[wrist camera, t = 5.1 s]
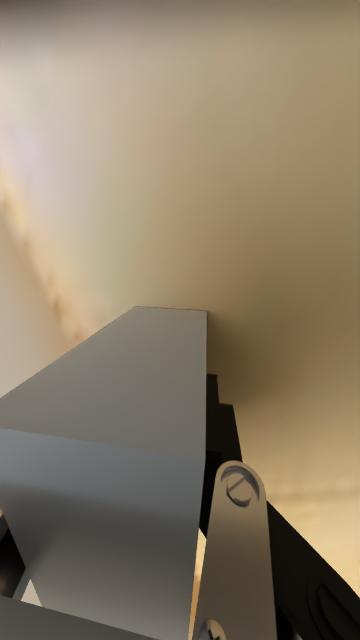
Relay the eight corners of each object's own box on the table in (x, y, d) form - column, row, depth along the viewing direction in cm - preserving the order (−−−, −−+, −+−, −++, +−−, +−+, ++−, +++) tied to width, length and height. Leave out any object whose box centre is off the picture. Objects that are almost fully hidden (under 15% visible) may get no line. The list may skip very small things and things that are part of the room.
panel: (206, 310, 10) (205, 459, 3) (198, 426, 13) (185, 669, 5) (135, 306, 11) (-35, 422, 3) (140, 418, 13) (52, 630, 6)
